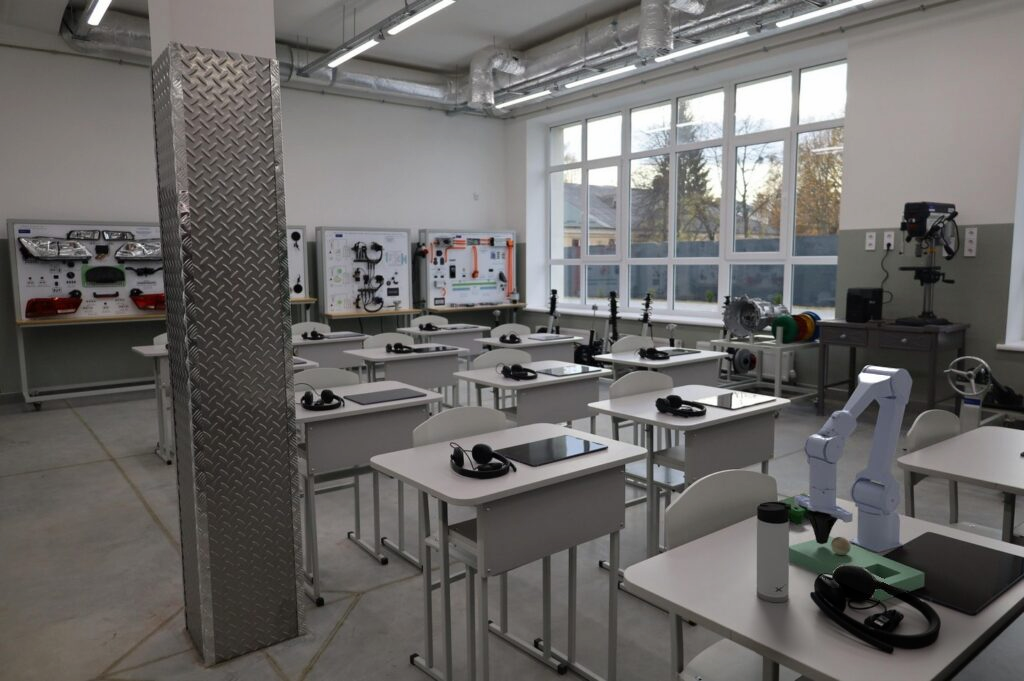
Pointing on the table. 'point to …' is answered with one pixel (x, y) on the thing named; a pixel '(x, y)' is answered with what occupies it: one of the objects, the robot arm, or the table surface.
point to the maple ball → (840, 546)
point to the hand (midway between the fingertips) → (821, 542)
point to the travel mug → (773, 551)
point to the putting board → (827, 561)
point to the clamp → (796, 509)
